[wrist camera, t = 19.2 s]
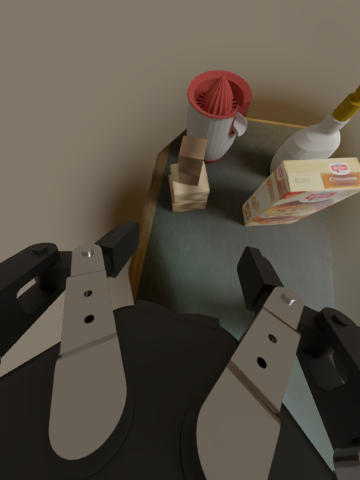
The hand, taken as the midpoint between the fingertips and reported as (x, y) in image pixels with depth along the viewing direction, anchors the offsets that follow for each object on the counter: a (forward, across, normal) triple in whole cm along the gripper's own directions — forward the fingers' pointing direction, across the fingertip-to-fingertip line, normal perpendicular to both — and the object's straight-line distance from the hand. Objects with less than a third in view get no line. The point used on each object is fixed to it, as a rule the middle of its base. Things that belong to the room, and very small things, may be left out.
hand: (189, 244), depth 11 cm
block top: (+36, +3, +4) cm, 36 cm away
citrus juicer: (+52, -1, -6) cm, 53 cm away
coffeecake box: (+39, -22, +8) cm, 45 cm away
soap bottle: (+50, -27, -4) cm, 57 cm away
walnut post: (+32, +3, 0) cm, 32 cm away
